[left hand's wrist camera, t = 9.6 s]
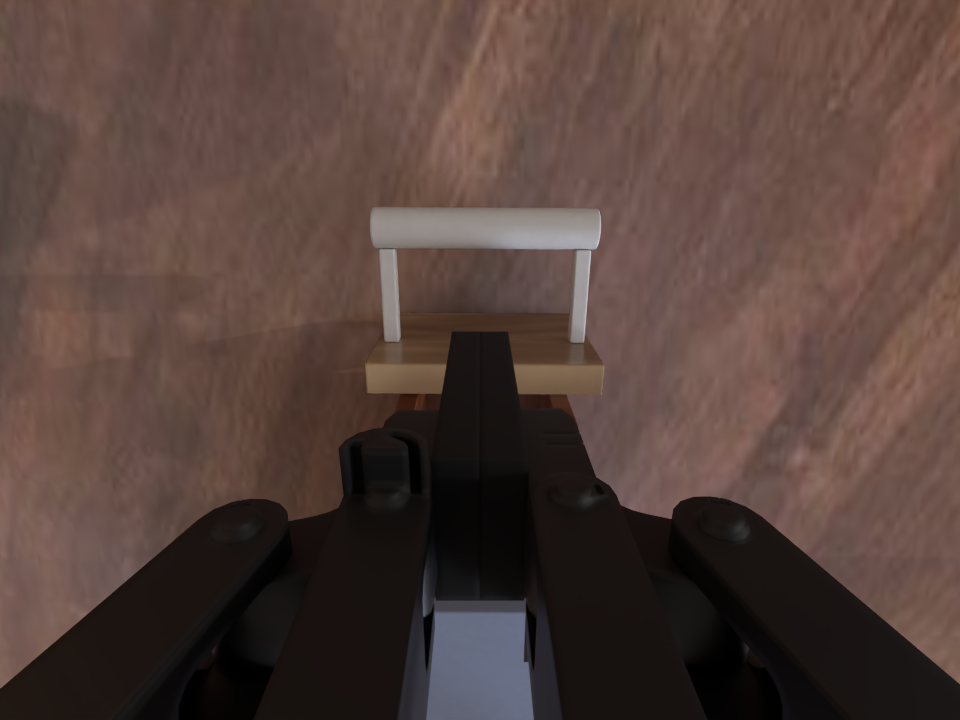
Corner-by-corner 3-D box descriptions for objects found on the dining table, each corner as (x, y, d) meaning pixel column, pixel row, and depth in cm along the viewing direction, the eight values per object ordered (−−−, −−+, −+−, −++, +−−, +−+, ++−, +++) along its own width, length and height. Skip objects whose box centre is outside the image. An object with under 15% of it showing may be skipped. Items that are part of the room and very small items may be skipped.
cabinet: (395, 488, 30) (363, 612, 22) (568, 489, 30) (602, 613, 22) (407, 696, 36) (385, 856, 28) (553, 697, 36) (575, 857, 28)
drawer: (388, 199, 24) (352, 213, 17) (580, 200, 24) (619, 214, 17) (407, 566, 31) (387, 674, 25) (555, 566, 31) (576, 675, 25)
